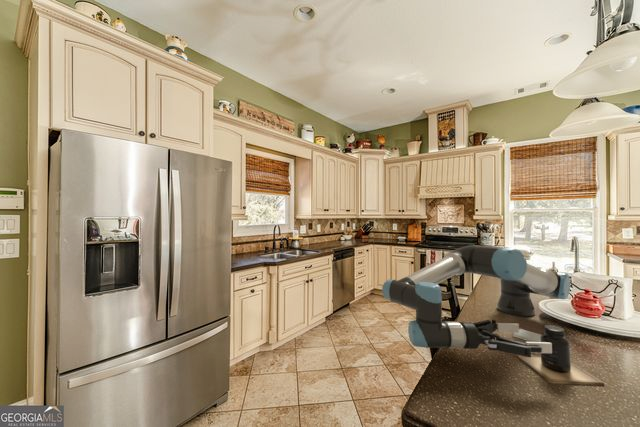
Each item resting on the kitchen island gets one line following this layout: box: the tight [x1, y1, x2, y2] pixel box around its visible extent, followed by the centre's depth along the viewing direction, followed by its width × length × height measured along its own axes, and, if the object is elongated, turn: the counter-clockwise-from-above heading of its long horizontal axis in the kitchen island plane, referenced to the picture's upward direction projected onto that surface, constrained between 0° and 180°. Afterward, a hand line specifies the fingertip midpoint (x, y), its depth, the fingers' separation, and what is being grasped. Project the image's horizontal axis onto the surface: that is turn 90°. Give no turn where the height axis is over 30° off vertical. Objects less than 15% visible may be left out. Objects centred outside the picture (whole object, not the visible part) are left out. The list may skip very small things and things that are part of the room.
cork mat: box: [516, 354, 605, 386], centre depth 81 cm, size 14×14×1 cm
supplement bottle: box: [540, 324, 571, 373], centre depth 81 cm, size 7×7×12 cm
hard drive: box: [512, 328, 542, 342], centre depth 101 cm, size 2×8×12 cm
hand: (533, 337), depth 81 cm, fingers open, 13 cm apart
